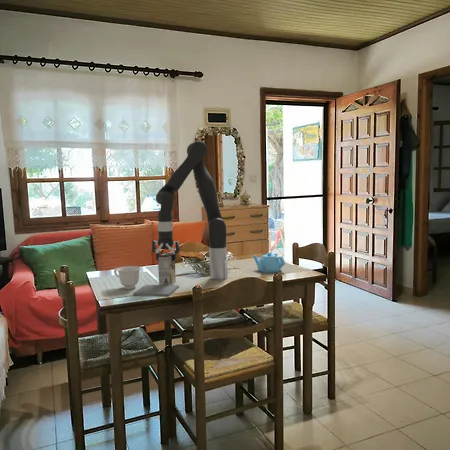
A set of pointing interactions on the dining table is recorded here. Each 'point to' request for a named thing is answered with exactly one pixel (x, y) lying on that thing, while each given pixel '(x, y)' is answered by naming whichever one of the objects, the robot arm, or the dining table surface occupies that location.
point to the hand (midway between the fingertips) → (166, 260)
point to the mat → (156, 290)
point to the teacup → (128, 276)
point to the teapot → (269, 263)
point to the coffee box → (166, 269)
